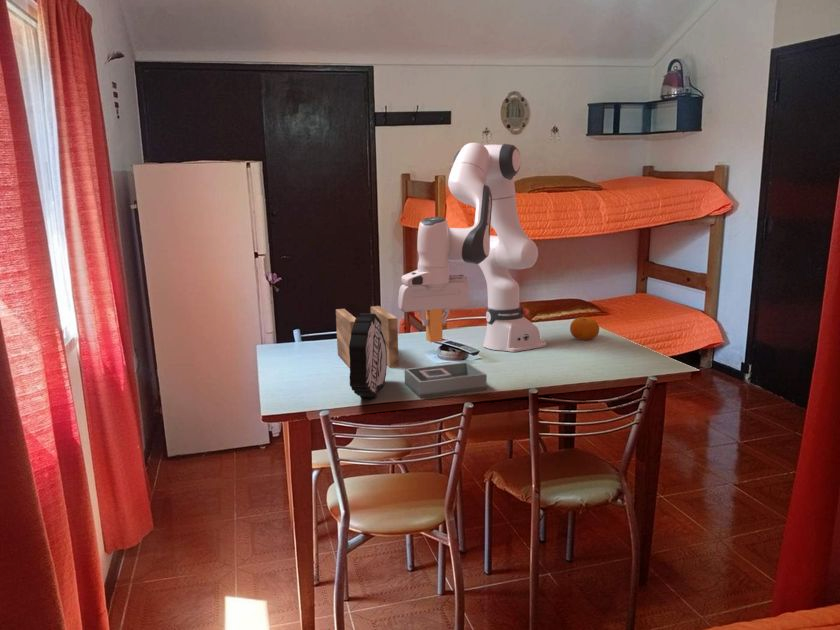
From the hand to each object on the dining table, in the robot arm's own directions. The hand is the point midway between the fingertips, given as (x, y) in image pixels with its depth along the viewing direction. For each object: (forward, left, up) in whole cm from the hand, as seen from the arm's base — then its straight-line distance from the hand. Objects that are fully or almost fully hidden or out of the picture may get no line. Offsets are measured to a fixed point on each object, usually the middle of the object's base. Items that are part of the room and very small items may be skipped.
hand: (434, 324), depth 189 cm
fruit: (-71, -34, -19) cm, 81 cm away
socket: (0, 0, -19) cm, 19 cm away
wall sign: (+19, -1, -19) cm, 27 cm away
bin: (-3, 0, -19) cm, 19 cm away
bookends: (+11, -36, -19) cm, 42 cm away
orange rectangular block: (0, 0, -5) cm, 5 cm away
